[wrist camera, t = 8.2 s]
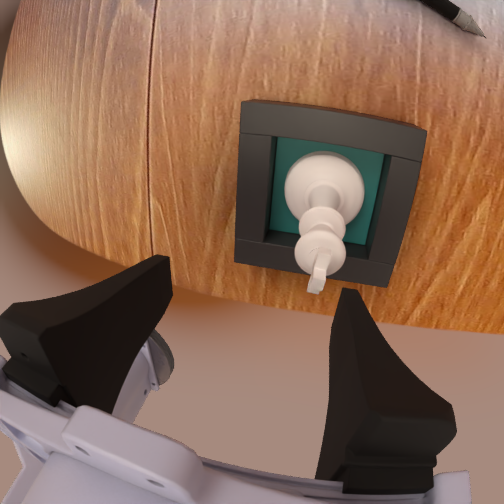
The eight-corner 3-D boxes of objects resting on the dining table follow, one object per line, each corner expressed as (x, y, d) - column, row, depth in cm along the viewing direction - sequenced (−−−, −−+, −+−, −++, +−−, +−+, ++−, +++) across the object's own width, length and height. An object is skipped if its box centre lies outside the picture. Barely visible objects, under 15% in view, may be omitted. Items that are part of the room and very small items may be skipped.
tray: (382, 265, 22) (387, 288, 19) (244, 242, 23) (233, 262, 21) (414, 124, 17) (427, 130, 14) (252, 99, 18) (240, 101, 16)
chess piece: (278, 216, 21) (237, 319, 12) (292, 142, 18) (257, 199, 10) (352, 234, 20) (361, 348, 12) (373, 162, 17) (412, 238, 9)
